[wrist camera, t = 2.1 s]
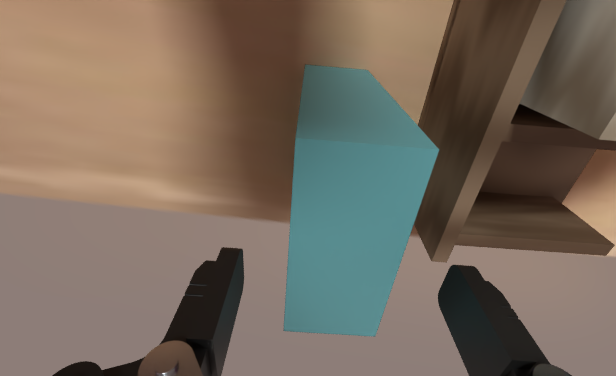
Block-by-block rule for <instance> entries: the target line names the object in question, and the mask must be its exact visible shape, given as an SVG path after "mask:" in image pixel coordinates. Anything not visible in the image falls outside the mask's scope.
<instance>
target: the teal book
mask: <svg viewBox="0 0 616 376" xmlns="http://www.w3.org/2000/svg"><path fill="white" fill-rule="evenodd" d="M438 152H439V149H438V148H437V147H436V145H435V144H434V143H433V142H432V141H431V140H430V139H429V138H428V137H427V135H426V134H425V133H424V132H423V131H422V130H421V129H420V128H419V127H418V126H417V124H416V123H415V122H414V121H413V120H412V119H411V118H410V117H409V116H408V114H407V113H406V112H405V111H404V110H403V109H402V108H401V107H400V106H399V104H398V103H397V102H396V101H395V100H394V99H393V98H392V97H391V96H390V95H389V93H388V92H387V91H386V90H385V89H384V88H383V87H382V86H381V85H380V83H379V82H378V81H377V80H376V79H375V78H374V77H373V76H372V75H371V73H370V72H369V71H368V70H361V69H350V68H339V67H327V66H316V65H305V70H304V78H303V85H302V93H301V100H300V108H299V115H298V123H297V130H296V138H295V154H294V170H293V186H292V202H291V219H290V235H289V251H288V267H287V284H286V301H285V317H284V331H293V332H309V333H325V334H342V335H358V336H375V335H376V332H377V330H378V327H379V324H380V321H381V318H382V315H383V312H384V309H385V306H386V303H387V300H388V297H389V294H390V292H391V289H392V286H393V283H394V280H395V277H396V274H397V271H398V268H399V265H400V263H401V260H402V257H403V253H404V251H405V248H406V245H407V242H408V239H409V236H410V233H411V231H412V228H413V225H414V222H415V219H416V216H417V213H418V210H419V207H420V204H421V201H422V198H423V196H424V193H425V190H426V187H427V184H428V181H429V178H430V175H431V172H432V169H433V166H434V164H435V161H436V158H437V155H438Z"/></svg>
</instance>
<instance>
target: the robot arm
mask: <svg viewBox="0 0 616 376" xmlns="http://www.w3.org/2000/svg"><path fill="white" fill-rule="evenodd" d="M243 267H244V266H243V250H242V249H238V248H224V247H223V248H222V249H221V250H220V253H219V256H218V258H217V260H216V261H205V262H204V263H203V264H202V265H201V266H200V267H199V268H198V269H197V270H196V271H195V273H194V275H193V277H192V279H191V281H190V285H189V286H188V288H187V290H186V292H185V296H184V297H183V299H182V301H181V303H180V305H179V308H178V309H177V312H176V314H175V316H174V318H173V321H172V322H171V325H170V327H169V329H168V331H167V333H166V336H165V338H164V339H163V341H162V342H161V343H160V345H159V346H157V347H155V348H154V349H153V350H151V351H150V352H149V353H148V354H147V355H146V357H144V358H142V359H140V360H137V361H135V362H132V363H128V364H124V365H120V366H116V367H113V368H109V369H105V370H101V368H100V367H99V366H98V365H97V364H95V363H92V362H87V361H85V362H78V363H74V364H71V365H69V366H67V367H65V368H63V369H61V370H60V371H58V372H57V373H55V374H54V375H53V376H221V373H222V370H223V366H224V361H225V358H226V354H227V350H228V346H229V342H230V338H231V334H232V331H233V327H234V322H235V319H236V315H237V311H238V307H239V303H240V299H241V295H242V291H243V284H244V268H243ZM438 302H439V306H440V309H441V312H442V314H443V316H444V319H445V321H446V323H447V326H448V328H449V330H450V332H451V335H452V337H453V339H454V342H455V344H456V346H457V348H458V351H459V353H460V355H461V358H462V360H463V362H464V365H465V367H466V369H467V372H468V374H469V376H572V375H570V374H569V373H567V372H566V371H564V370H563V369H561V368H558V367H556V366H554V365H551V364H550V363H549V362H548V360H547V359H546V357H545V356H544V354H543V353H542V351H541V350H540V348H539V347H538V345H537V344H536V343H535V341H534V339H533V338H532V337H531V335H530V334H529V332H528V331H527V329H526V328H525V326H524V325H523V323H522V322H521V321H520V320H519V319H518V316H517V315H516V313H515V312H514V310H513V309H511V306H510V304H509V303H508V301H507V300H506V299H505V297H504V295H503V294H502V293H501V292H500V291H499V290H498V289H497V288H496V287H495V286H493V285H492V284H491V283H490V282H489V281H485V280H484V279H483V277H482V276H481V274H480V273H479V271H478V270H477V269H476V268H475V267H474V266H463V265H452V266H451V267H450V268H449V271H448V273H447V275H446V277H445V279H444V281H443V284H442V286H441V288H440V290H439V293H438Z"/></svg>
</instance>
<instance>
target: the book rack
mask: <svg viewBox="0 0 616 376" xmlns="http://www.w3.org/2000/svg"><path fill="white" fill-rule="evenodd" d="M418 127H419V128H420V129H421V130H422V131H423V132H424V133H425V134H426V135H427V137H428V138H429V139H430V140H431V141H432V142H433V143H434V144H435V145H436V147H437V148H438V149H439V152H438V155H437V158H436V161H435V164H434V166H433V169H432V172H431V175H430V178H429V181H428V184H427V187H426V190H425V193H424V196H423V198H422V201H421V204H420V207H419V210H418V213H417V216H416V219H415V222H414V225H415V227H416V229H417V231H418V234H419V236H420V238H421V240H422V242H423V244H424V246H425V248H426V250H427V253H428V254H429V257H430V259H431V261H435V262H447V260H448V258H449V256H450V254H451V252H452V250H453V247H454V245H463V246H477V247H492V248H505V249H519V250H534V251H548V252H562V253H576V254H590V255H604V256H606V255H607V254H608V253H609V251H610V250H611V249H612V248H613V247H614V244H613V243H611V242H610V241H609V240H608V239H606V238H605V237H604V236H602V235H601V234H600V233H599V232H597V231H596V230H595V229H594V228H592V227H591V226H590V225H588V224H587V223H586V222H585V221H583V220H582V219H581V218H579V217H578V216H577V215H576V214H574V213H573V212H572V211H570V210H569V209H568V208H567V207H565V206H564V205H563V204H561V203H562V202H563V200H564V199H565V197H566V195H567V194H568V192H569V191H570V189H571V188H572V186H573V185H574V183H575V182H576V180H577V179H578V177H579V175H580V174H581V172H582V171H583V169H584V168H585V166H586V165H587V163H588V162H589V160H590V158H591V157H592V155H593V154H594V152H595V151H596V149H604V150H616V0H454V3H453V6H452V10H451V13H450V17H449V20H448V24H447V27H446V30H445V34H444V37H443V41H442V44H441V48H440V51H439V55H438V58H437V62H436V65H435V69H434V72H433V76H432V79H431V82H430V86H429V89H428V93H427V96H426V100H425V103H424V107H423V110H422V114H421V117H420V121H419V124H418Z"/></svg>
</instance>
